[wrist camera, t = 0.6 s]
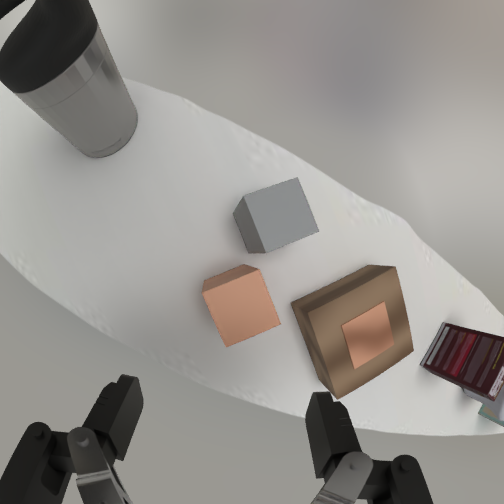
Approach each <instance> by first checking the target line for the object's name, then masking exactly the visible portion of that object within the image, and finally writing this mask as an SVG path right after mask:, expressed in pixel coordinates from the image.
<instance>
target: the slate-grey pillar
mask: <svg viewBox="0 0 504 504" xmlns="http://www.w3.org/2000/svg"><path fill="white" fill-rule="evenodd" d="M233 215H234V217H235V220H236V222H237V225H238V227H239V230H240V232H241V235H242V237H243V240H244V242H245V245H246V247H247V250H248V252H249V253H268V252H270V251H273V250H275V249H278V248H280V247H283V246H285V245H287V244H290V243H292V242H295V241H297V240H300V239H302V238H304V237H307V236H309V235H312V234H314V233H317V232H319V229H318V227H317V224H316V222H315V219H314V216H313V214H312V211H311V209H310V206H309V204H308V201H307V199H306V196H305V194H304V191H303V189H302V187H301V184H300V182H299V179H298V177H297V178H294V179H291V180H288V181H285V182H282V183H279V184H276V185H273V186H270V187H267V188H264V189H261V190H259V191H256V192H253V193H250V194H247V195H245V196H243V198H242V199H241V201H240V202H239V204H238V206H237V207H236V209H235V211H234V212H233Z"/></svg>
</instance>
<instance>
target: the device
mask: <svg viewBox="0 0 504 504" xmlns="http://www.w3.org/2000/svg"><path fill="white" fill-rule="evenodd" d="M478 414H480V415H482V416H484V417H486V418H488V419H490V420H491V421H493V422H495V423H497V424H499V425H501V426H503V427H504V421H500V420H498V418H497V417H496V415H495V414H494V413H493V412H492V411H491V410H490V409H489V408H488V407H487V406H485V405H484V404H483V405H482V407H481V409H480V411H479V413H478Z"/></svg>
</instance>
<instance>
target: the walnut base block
mask: <svg viewBox="0 0 504 504" xmlns="http://www.w3.org/2000/svg"><path fill="white" fill-rule="evenodd" d="M291 305H292V308H293V311H294V313H295V316H296V318H297V321H298V324H299V326H300V329H301V332H302V335H303V337H304V340H305V343H306V345H307V348H308V351H309V353H310V356H311V359H312V362H313V364H314V367H315V370H316V373H317V375H318V378H319V380H320V381H321V382H322V384H323V385H324V386H325V387H326V388H327V389H328V390H329V391H330V392H331V393H332V394H333V395H334V396H335V398H336V399H337V400H338V399H340V398H341V397H343V396H345V395H347V394H349V393H350V392H352V391H354V390H355V389H357V388H359V387H361V386H362V385H364V384H365V383H367V382H369V381H370V380H372V379H373V378H375V377H377V376H378V375H380V374H381V373H383V372H384V371H386V370H387V369H389V368H390V367H392V366H393V365H395V364H396V363H398V362H399V361H400V360H402V359H403V358H405V357H406V356H407V355H409V354H410V353H411V352H413V351H414V349H413V343H412V337H411V332H410V326H409V321H408V316H407V312H406V307H405V302H404V298H403V294H402V290H401V286H400V282H399V278H398V274H397V270H396V267H394V266H380V265H367V266H366V267H364V268H362V269H360V270H358V271H356V272H354V273H352V274H350V275H348V276H346V277H344V278H342V279H340V280H338V281H336V282H334V283H332V284H330V285H328V286H326V287H323V288H321V289H319V290H317V291H315V292H313V293H311V294H309V295H307V296H304V297H302V298H300V299H298V300H296V301H294V302H291Z"/></svg>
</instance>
